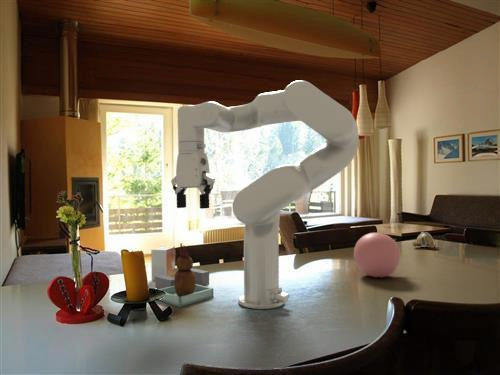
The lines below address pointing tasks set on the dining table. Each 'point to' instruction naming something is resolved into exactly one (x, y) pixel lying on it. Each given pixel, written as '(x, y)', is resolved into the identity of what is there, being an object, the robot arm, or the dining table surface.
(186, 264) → the wooden figurine
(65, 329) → the dining table surface
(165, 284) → the grey blocks
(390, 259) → the pink rubber ball
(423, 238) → the ceramic sculpture
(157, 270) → the small box
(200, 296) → the tray
